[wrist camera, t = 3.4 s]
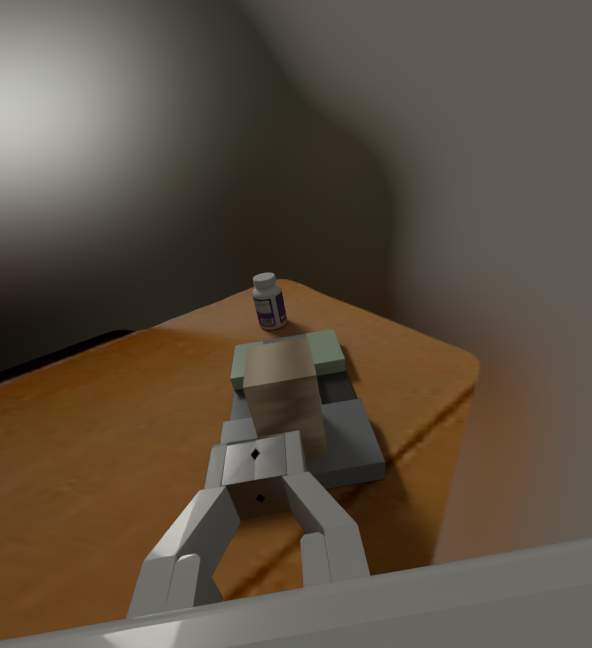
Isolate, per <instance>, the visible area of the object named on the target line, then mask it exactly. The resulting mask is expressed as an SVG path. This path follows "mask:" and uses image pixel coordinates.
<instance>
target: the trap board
mask: <svg viewBox="0 0 592 648" xmlns="http://www.w3.org/2000/svg"><path fill="white" fill-rule="evenodd" d="M305 337H308V341H309V345H310V349H311V353H312V358H313V362H314V366H315V371H316V375H317V382H318V389H319V395H320V402H321V409H322V416H323V423H324V430H325V437H326V444H327V450H328V457H326V458H321V459H315V460H309V461H306V466H307V472H310V473H311V474H312V475H313V476H314V477H315V479H316V480H317V481H318V482H319V483H320V484H321V485H322V486H323V487H324V488H325V489H329V488H335V487H341V486H346V485H352V484H358V483H364V482H369V481H375V480H381V479H385V460H384V457H383V455H382V452H381V450H380V447H379V445H378V442H377V440H376V437H375V434H374V432H373V429H372V427H371V424H370V422H369V419H368V417H367V414H366V411H365V409H364V406H363V404H362V401H361V399H356V396H355V394H354V391H353V388H352V386H351V383H350V380H349V378H348V375H347V372H346V366H345V358H344V355H343V353H342V350H341V348H340V345H339V342H338V340H337V337H336V335H335V332H334V330H333V329H329V330H323V331H318V332H312V333H306V334H300V335H294V336H289V337H283V338H277V339H271V340H265V341H260V342H254V343H248V344H242V345H236V346H235V352H234V359H233V365H232V372H231V378H230V379H231V382H232V385H233V388H234V395H233V402H232V410H231V417H230V421H227V422H224V423H223V429H222V436H221V442H220V444H222V443H228V442H234V441H241V440H248V439H255V438H258V437H257V434H256V430H255V427H254V424H253V420H252V417H251V413H250V410H249V407H248V403H247V400H246V397H245V393H244V390H243V381H244V371H245V360H246V350H247V347H252V346H258V345H264V344H270V343H276V342H281V341H287V340H293V339H299V338H305Z"/></svg>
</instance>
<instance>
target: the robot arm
mask: <svg viewBox="0 0 592 648" xmlns="http://www.w3.org/2000/svg"><path fill="white" fill-rule="evenodd" d="M291 511H292V514H293V515H294V516H295V518H296V519H297V521H298V522H299V524H300V525H301V527H302V528H303V530H304V531H305V533H306V535H304V536H303V537H302V539H301V540H300V543H301V556H302V570H303V583H304V588H298V589H293V590H287V591H281V592H276V593H270V594H264V595H258V596H253V597H247V598H241V599H236V600H230V601H224V602H223V600H224V598H223V596H222V595H221V593H220V591H219V589H218V588H217V586H216V584H215V582H214V581H213V579H212V576H213V574H214V572H215V570H216V568H217V566H218V564H219V562H220V560H221V559H222V557H223V555H224V553H225V551H226V549H227V547H228V545H229V543H230V541H231V540H232V538H233V536H234V534H235V532H236V530H237V528H238V526H239V524H240V523H241V522H240V520H245V519H250V518H255V517H259V516H264V515H271V514H277V513H284V512H291ZM0 648H592V537H590V538H584V539H579V540H573V541H567V542H562V543H556V544H550V545H545V546H540V547H533V548H527V549H522V550H516V551H510V552H505V553H499V554H493V555H487V556H481V557H476V558H470V559H464V560H459V561H453V562H448V563H442V564H436V565H430V566H424V567H419V568H413V569H407V570H401V571H396V572H390V573H384V574H379V575H373V576H370V573H369V569H368V565H367V561H366V557H365V553H364V549H363V545H362V541H361V537H360V533H359V529H358V524H357V523H356V522H355V521H354V520H353V519H352V518H351V517H350V516H349V515H348V514H347V512H346V511H345V510H344V509H343V508H342V507H341V506H340V505H339V504H338V503H337V502H336V500H335V499H334V498H333V497H332V496H331V495H330V494H329V493H328V492H327V491H326V489H325V488H324V487H323V486H322V485H321V484H320V483H319V482H318V481H317V480H316V479H315V477H314V476H313V475H312V474H311V473H310V472H307V466H306V461H305V455H304V450H303V445H302V440H301V435H300V431H299V430H298V431H292V432H286V433H280V434H275V435H269V436H264V437H259V438H255V439H248V440H241V441H234V442H228V443H222V444H216V445H214V446H213V447H212V449H211V455H210V460H209V465H208V471H207V476H206V481H205V487H204V490H199V492H198V493H197V494H196V496H195V497H194V498H193V499H192V501H191V502H190V503H189V504H188V506H187V507H186V508H185V509H184V511H183V512H182V513H181V514H180V516H179V517H178V518H177V520H176V521H175V522H174V523H173V525H172V526H171V527H170V528H169V530H168V531H167V532H166V533H165V535H164V536H163V537H162V538H161V540H160V541H159V542H158V543H157V545H156V546H155V547H154V549H153V550H152V551H151V552H150V554H149V555H148V556H147V557H146V559H145V560H144V561H143V565H142V568H141V571H140V575H139V578H138V581H137V584H136V588H135V591H134V594H133V598H132V601H131V604H130V607H129V611H128V614H127V617H126V619H122V620H116V621H110V622H105V623H99V624H93V625H88V626H82V627H76V628H71V629H65V630H59V631H53V632H48V633H42V634H36V635H31V636H25V637H19V638H13V639H8V640H2V641H0Z"/></svg>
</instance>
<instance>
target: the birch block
mask: <svg viewBox="0 0 592 648" xmlns="http://www.w3.org/2000/svg"><path fill="white" fill-rule="evenodd" d="M243 390H244V393H245V397H246V400H247V403H248V407H249V410H250V413H251V417H252V420H253V424H254V427H255V430H256V434H257V437H258V438H259V437H264V436H269V435H275V434H280V433H286V432H292V431H298V430H299V431H300V435H301V440H302V445H303V450H304V455H305V461H309V460H315V459H321V458H326V457H328V450H327V444H326V437H325V430H324V423H323V416H322V409H321V402H320V395H319V389H318V382H317V375H316V371H315V366H314V362H313V358H312V353H311V349H310V345H309V341H308V337H305V338H299V339H293V340H287V341H281V342H276V343H270V344H264V345H258V346H252V347H247V350H246V360H245V371H244V381H243Z"/></svg>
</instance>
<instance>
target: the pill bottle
mask: <svg viewBox="0 0 592 648" xmlns="http://www.w3.org/2000/svg"><path fill="white" fill-rule="evenodd" d="M253 282H254V286H255V287H256V288H255V289H254V290H253V292H252V295H253V299H254V303H255V308H256V312H257V316H258V320H259V324H260V327H261V328H263V329H265V330H275V329H278V328H280V327H282V326H284V325H285V324H286V322H287V316H286V311H285V306H284V301H283V296H282V291H281V287H280V286H279V285H278V284H275V283H276V279H275V275H274V274H273V273H263V274H259V275H256V276H255V277H254V278H253Z"/></svg>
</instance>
